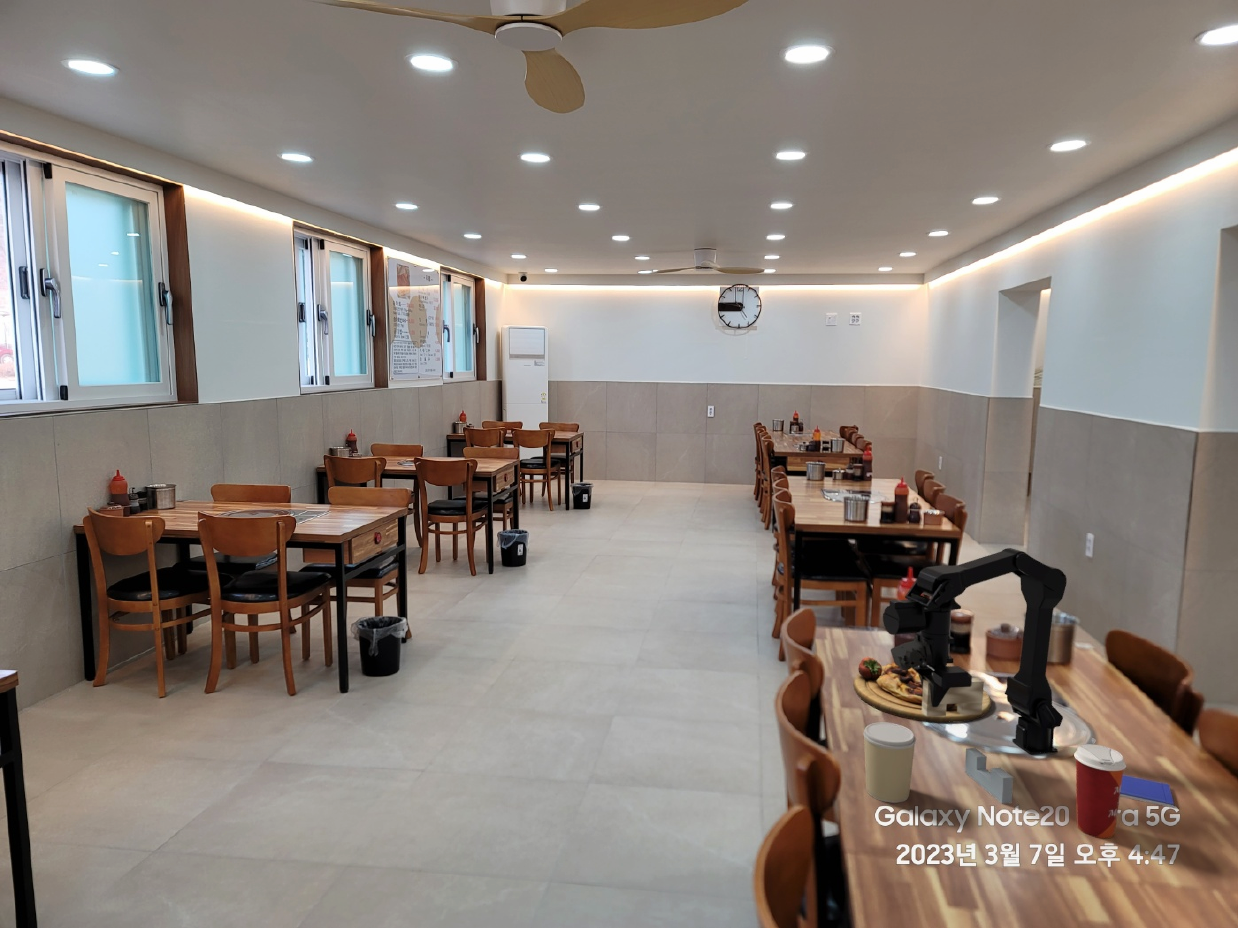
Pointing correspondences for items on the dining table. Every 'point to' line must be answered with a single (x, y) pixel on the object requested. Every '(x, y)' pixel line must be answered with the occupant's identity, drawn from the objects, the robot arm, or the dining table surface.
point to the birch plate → (955, 699)
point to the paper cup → (1098, 789)
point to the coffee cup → (888, 761)
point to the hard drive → (1146, 791)
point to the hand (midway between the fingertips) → (931, 704)
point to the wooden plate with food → (902, 693)
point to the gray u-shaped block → (989, 776)
